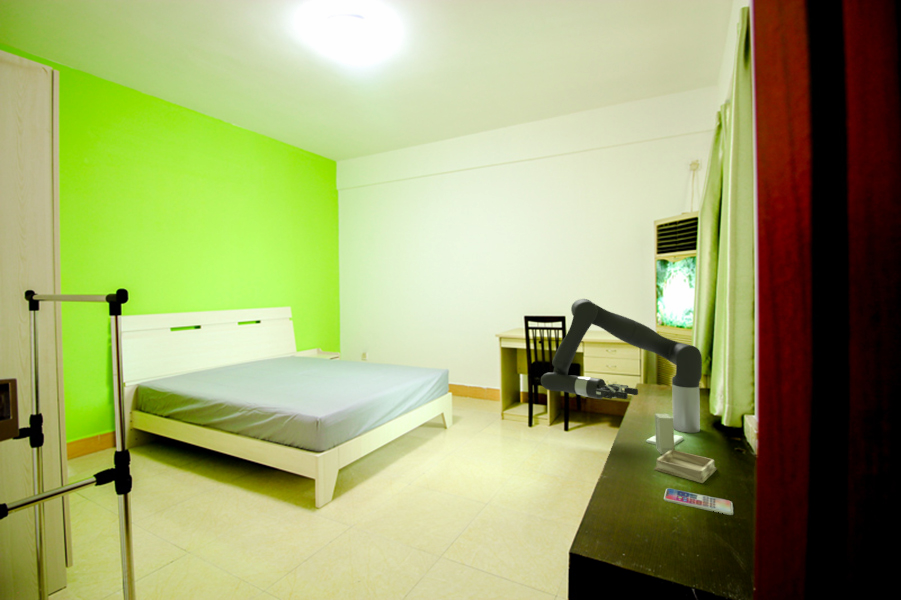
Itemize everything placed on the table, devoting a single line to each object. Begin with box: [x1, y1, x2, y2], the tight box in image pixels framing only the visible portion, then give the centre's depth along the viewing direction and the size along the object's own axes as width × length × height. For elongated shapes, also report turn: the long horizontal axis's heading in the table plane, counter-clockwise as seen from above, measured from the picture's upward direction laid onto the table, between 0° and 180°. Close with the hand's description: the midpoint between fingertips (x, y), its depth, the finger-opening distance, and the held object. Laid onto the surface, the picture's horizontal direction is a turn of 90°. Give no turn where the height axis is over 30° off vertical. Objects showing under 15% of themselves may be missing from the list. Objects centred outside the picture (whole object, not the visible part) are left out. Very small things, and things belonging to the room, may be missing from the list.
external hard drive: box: [645, 434, 684, 446], centre depth 152 cm, size 2×8×12 cm
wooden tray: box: [653, 449, 718, 484], centre depth 127 cm, size 13×13×3 cm
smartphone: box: [663, 487, 734, 516], centre depth 107 cm, size 7×1×15 cm
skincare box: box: [654, 412, 675, 455], centre depth 142 cm, size 6×4×12 cm
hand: (632, 394), depth 149 cm, fingers open, 8 cm apart
